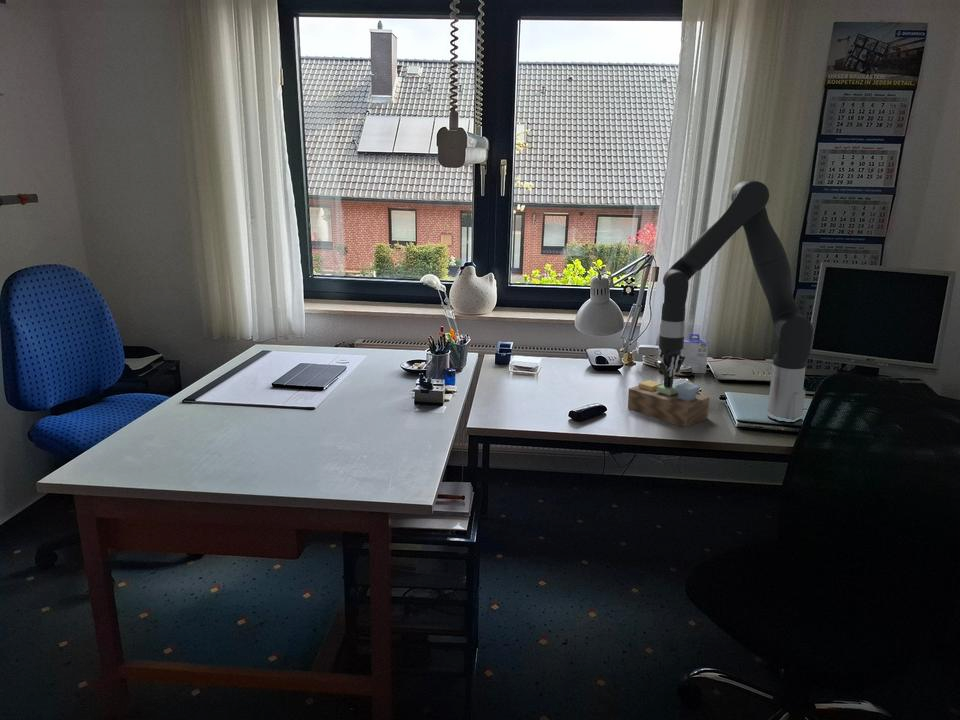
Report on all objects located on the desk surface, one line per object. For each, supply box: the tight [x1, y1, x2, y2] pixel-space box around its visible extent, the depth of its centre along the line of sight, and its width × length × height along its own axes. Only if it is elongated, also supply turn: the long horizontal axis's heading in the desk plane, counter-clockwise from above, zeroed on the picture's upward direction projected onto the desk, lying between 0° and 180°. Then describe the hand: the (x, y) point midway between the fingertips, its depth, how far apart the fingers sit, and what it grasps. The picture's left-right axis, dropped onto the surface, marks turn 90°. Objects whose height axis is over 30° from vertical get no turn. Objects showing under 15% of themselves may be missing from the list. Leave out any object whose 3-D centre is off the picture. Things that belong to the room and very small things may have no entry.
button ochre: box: [638, 379, 663, 391], centre depth 217 cm, size 5×5×7 cm
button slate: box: [675, 382, 701, 402], centre depth 206 cm, size 5×5×7 cm
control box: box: [627, 383, 710, 428], centre depth 212 cm, size 22×12×7 cm, turn 38°
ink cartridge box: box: [680, 333, 709, 374], centre depth 255 cm, size 10×6×14 cm, turn 78°
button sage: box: [657, 383, 679, 396], centre depth 212 cm, size 5×5×7 cm
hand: (668, 386), depth 211 cm, fingers closed
